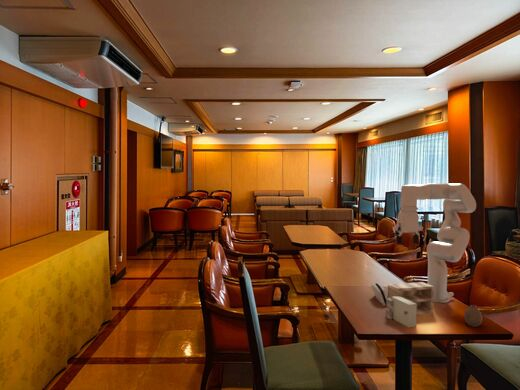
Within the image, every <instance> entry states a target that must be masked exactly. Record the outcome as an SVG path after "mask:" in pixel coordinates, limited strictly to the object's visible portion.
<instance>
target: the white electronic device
mask: <svg viewBox="0 0 520 390" xmlns="http://www.w3.org/2000/svg"><path fill="white" fill-rule="evenodd" d="M371 289H372V291H373V295H374V297H375V296H376V297H375V298H376V299H377V300H378V302H379V303H380V304H381V303H382V304H383V305H382V304H381V305H382V306H386V299H387V297H388V293H387V292H386V289H385V288H384V286H383V284H381V283H380V282H376V283H373V284H371Z"/></svg>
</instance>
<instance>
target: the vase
mask: <svg viewBox="0 0 520 390" xmlns="http://www.w3.org/2000/svg"><path fill="white" fill-rule="evenodd" d="M463 316H464V321H465V323H466V325H468V326H470V327H474V328H477V327H480V326H481V324H482V321H483V315H482V312H481V311H480V310H479V308H478V306H477V305H475V304H470V306H469V307H468V308H466V310H465V311H464V315H463Z"/></svg>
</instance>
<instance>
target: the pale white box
mask: <svg viewBox="0 0 520 390" xmlns="http://www.w3.org/2000/svg"><path fill="white" fill-rule="evenodd" d="M392 301H393V306H392V307H391V311H392V319H391V320H394V321H396V322H398V323H400V324H401V325H403V326H405V327H407V328H416V327H417V314H416V310H417V304H416V303H413V302H411V301H409V300H407V299H404V298H402V297H400V296H394V297H392Z"/></svg>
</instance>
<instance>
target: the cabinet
mask: <svg viewBox="0 0 520 390" xmlns="http://www.w3.org/2000/svg"><path fill="white" fill-rule="evenodd" d="M433 289H434V286H431V285H429V284H427V283H426V282H423V281H418V282H403V283H389V284H387V299H386V304H385V306H387V307H386V309H385V318H387V319H389V320H393V319H392V311H391V307H392V306H393V301H392V297H394V296H400V297H402V298H404V299H407V300H409V301H411V302H413V303H416V304H417V310H416V315H426V314H433V313H434V312H433V311H434V302H433Z"/></svg>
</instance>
